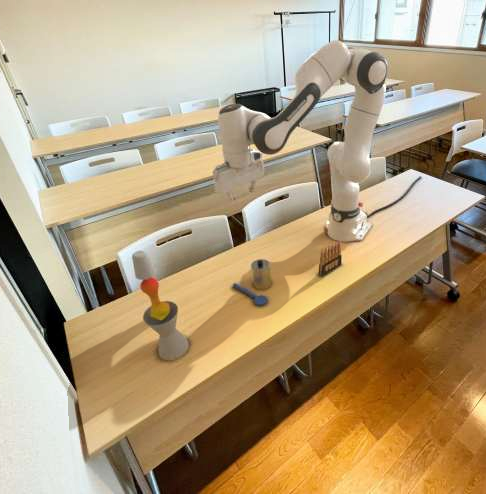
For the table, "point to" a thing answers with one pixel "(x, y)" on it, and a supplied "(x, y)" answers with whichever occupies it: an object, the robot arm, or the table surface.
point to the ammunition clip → (330, 258)
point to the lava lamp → (159, 310)
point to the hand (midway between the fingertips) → (242, 196)
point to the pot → (261, 273)
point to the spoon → (253, 295)
